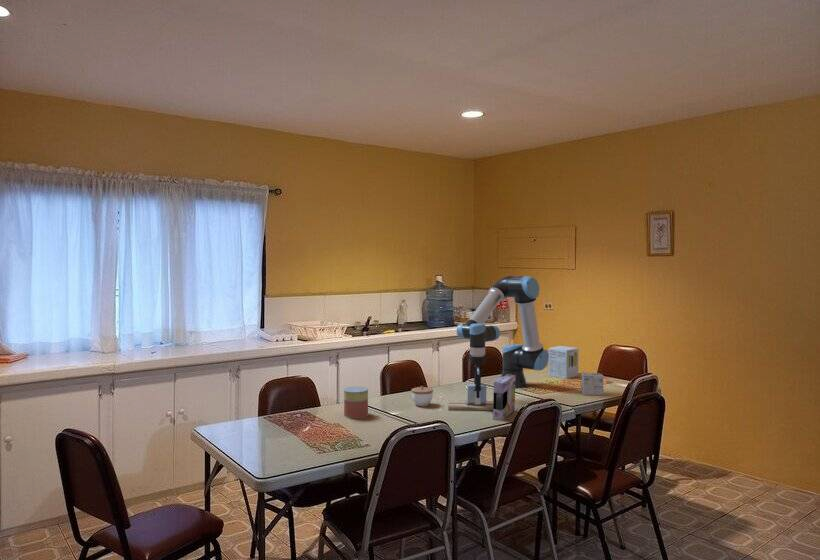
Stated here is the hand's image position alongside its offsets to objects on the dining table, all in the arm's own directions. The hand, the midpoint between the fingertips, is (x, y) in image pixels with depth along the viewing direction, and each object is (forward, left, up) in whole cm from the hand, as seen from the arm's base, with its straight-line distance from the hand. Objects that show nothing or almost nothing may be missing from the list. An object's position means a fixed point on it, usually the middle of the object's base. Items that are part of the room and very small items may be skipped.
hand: (477, 402), depth 283 cm
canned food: (+17, -57, -3) cm, 60 cm away
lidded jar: (-3, -27, -2) cm, 27 cm away
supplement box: (-78, +57, -3) cm, 97 cm away
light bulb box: (-31, +63, -3) cm, 70 cm away
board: (0, -1, -2) cm, 3 cm away
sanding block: (0, 0, 0) cm, 1 cm away
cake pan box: (+14, +12, -3) cm, 18 cm away
